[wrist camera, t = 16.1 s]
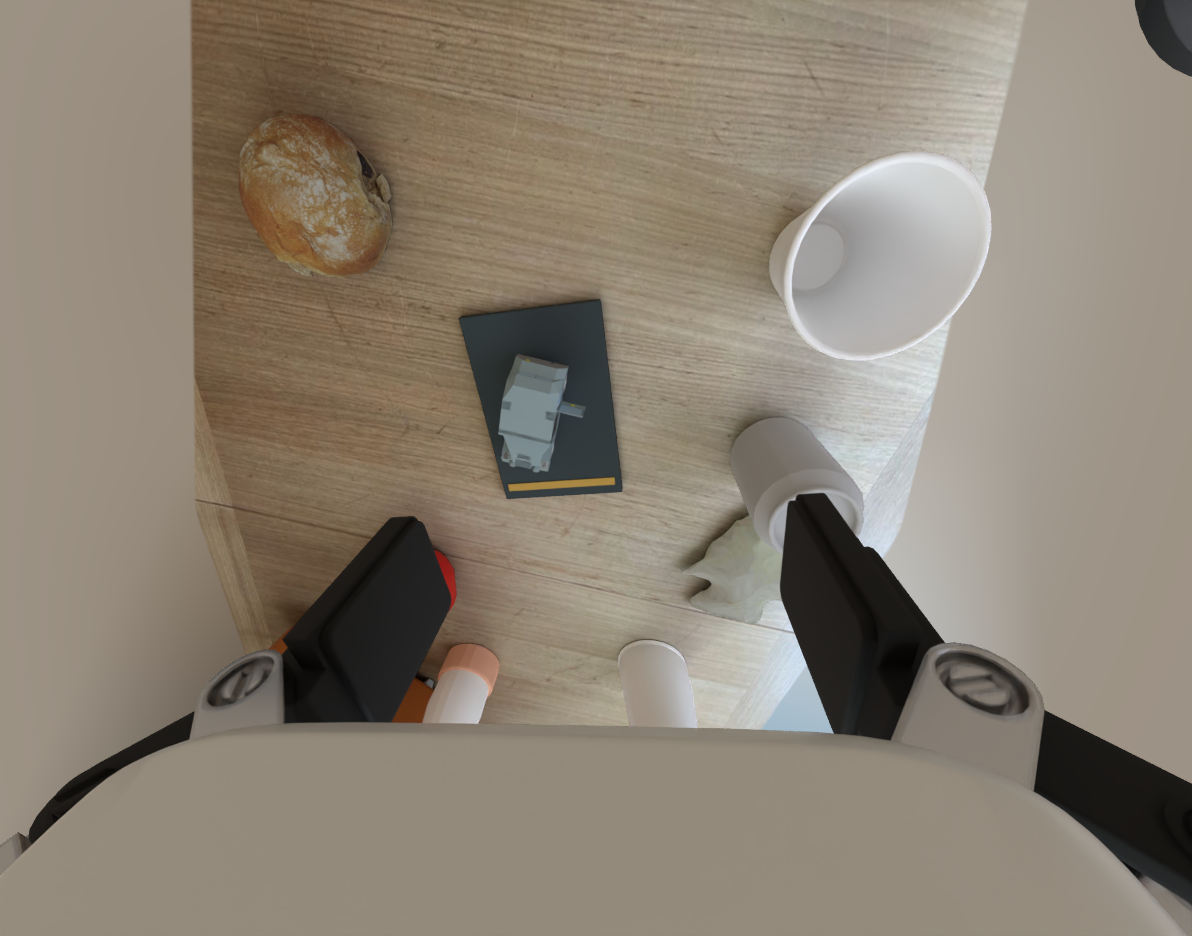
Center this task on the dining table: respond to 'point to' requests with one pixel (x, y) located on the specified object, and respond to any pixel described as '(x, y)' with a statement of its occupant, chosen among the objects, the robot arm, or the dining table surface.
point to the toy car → (533, 412)
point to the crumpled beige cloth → (738, 574)
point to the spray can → (656, 686)
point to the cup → (883, 255)
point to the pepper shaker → (463, 685)
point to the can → (788, 476)
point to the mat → (579, 343)
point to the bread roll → (314, 197)
